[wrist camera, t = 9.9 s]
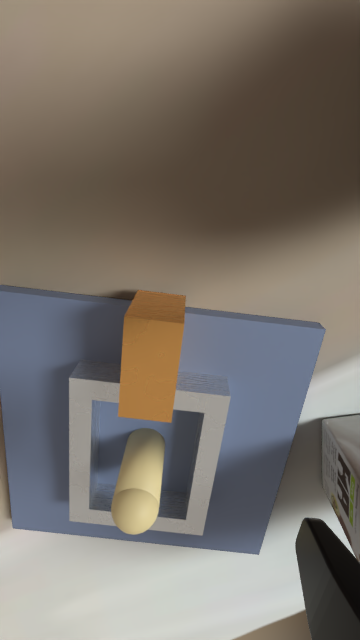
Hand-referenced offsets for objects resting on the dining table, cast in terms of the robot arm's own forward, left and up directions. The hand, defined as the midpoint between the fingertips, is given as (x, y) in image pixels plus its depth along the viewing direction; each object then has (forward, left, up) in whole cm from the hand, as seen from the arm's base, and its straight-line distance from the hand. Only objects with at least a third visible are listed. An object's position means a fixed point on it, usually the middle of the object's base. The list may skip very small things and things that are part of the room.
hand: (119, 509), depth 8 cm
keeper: (0, +8, -12) cm, 14 cm away
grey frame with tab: (0, +5, -11) cm, 12 cm away
